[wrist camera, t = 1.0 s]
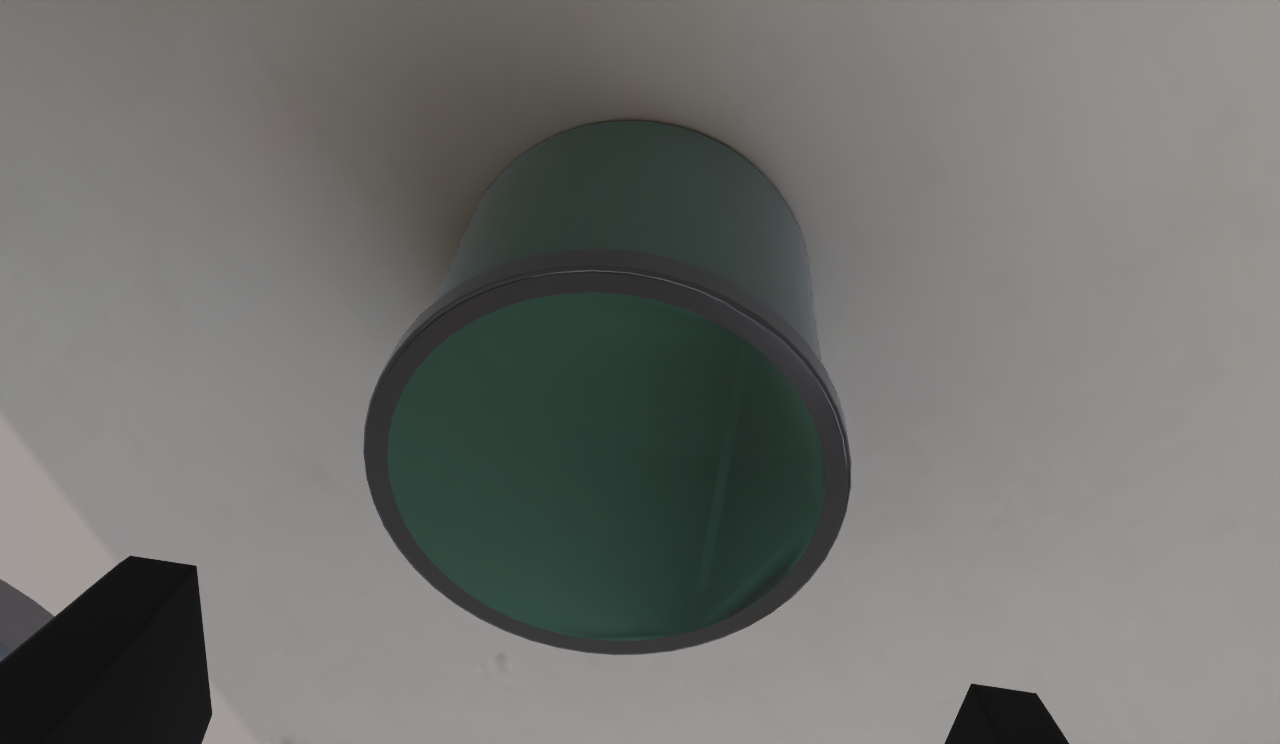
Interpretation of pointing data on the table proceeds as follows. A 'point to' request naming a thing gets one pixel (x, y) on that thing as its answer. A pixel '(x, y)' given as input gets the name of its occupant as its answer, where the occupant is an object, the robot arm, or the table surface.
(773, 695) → the table surface
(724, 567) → the pot
